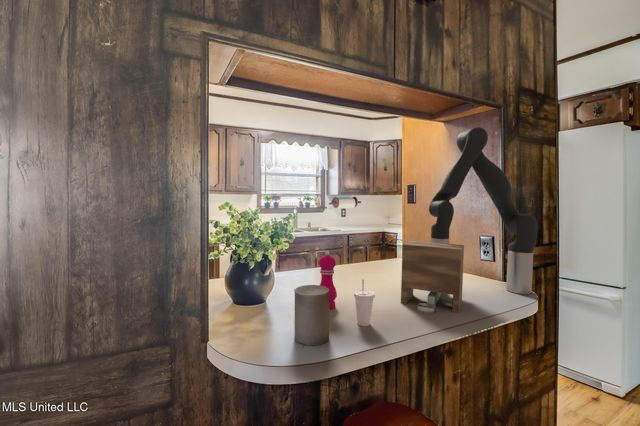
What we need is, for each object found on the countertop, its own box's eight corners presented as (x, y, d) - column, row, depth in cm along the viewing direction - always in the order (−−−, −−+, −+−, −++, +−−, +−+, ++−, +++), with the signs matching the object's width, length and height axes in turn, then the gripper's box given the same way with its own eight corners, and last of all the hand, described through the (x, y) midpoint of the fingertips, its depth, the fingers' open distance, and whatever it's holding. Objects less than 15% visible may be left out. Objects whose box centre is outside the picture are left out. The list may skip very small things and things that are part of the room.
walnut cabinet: (408, 294, 133) (409, 240, 132) (461, 303, 123) (464, 245, 122) (400, 302, 122) (402, 244, 121) (458, 312, 113) (461, 249, 112)
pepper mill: (315, 309, 113) (316, 252, 112) (316, 303, 120) (317, 249, 119) (336, 310, 113) (337, 253, 112) (336, 303, 120) (337, 249, 119)
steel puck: (419, 307, 118) (419, 302, 118) (436, 310, 115) (436, 305, 115) (415, 312, 113) (415, 306, 113) (433, 315, 110) (433, 310, 110)
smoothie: (349, 321, 103) (350, 277, 102) (366, 318, 106) (367, 275, 105) (359, 329, 97) (361, 282, 97) (378, 326, 100) (379, 280, 99)
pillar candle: (325, 330, 96) (326, 279, 96) (332, 344, 87) (332, 289, 86) (292, 332, 95) (292, 280, 94) (295, 347, 85) (295, 290, 85)
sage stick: (436, 290, 139) (436, 281, 139) (442, 291, 138) (442, 282, 138) (427, 306, 119) (427, 295, 119) (434, 307, 118) (434, 296, 117)
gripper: (458, 249, 134) (457, 291, 135) (423, 246, 140) (422, 286, 141) (457, 252, 127) (455, 295, 128) (420, 248, 134) (419, 290, 135)
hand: (438, 290), depth 135 cm, fingers closed on sage stick, 2 cm apart
